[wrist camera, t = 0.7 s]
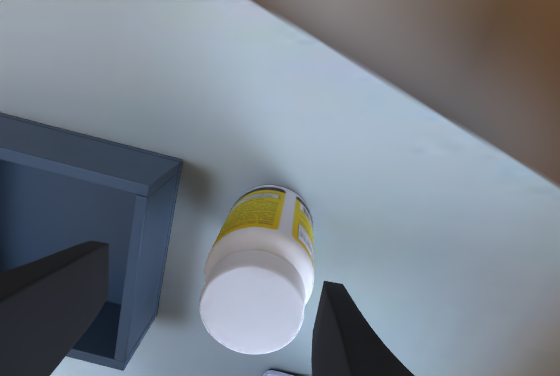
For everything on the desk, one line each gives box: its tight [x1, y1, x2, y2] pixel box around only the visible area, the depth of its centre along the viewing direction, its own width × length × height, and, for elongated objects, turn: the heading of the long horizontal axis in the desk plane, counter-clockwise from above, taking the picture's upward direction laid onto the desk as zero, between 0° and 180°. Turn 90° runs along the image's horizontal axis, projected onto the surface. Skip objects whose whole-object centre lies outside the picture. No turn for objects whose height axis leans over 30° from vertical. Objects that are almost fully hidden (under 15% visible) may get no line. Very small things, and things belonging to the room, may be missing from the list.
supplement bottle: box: [200, 185, 314, 354], centre depth 19 cm, size 5×5×8 cm
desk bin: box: [0, 113, 182, 371], centre depth 21 cm, size 11×12×5 cm
